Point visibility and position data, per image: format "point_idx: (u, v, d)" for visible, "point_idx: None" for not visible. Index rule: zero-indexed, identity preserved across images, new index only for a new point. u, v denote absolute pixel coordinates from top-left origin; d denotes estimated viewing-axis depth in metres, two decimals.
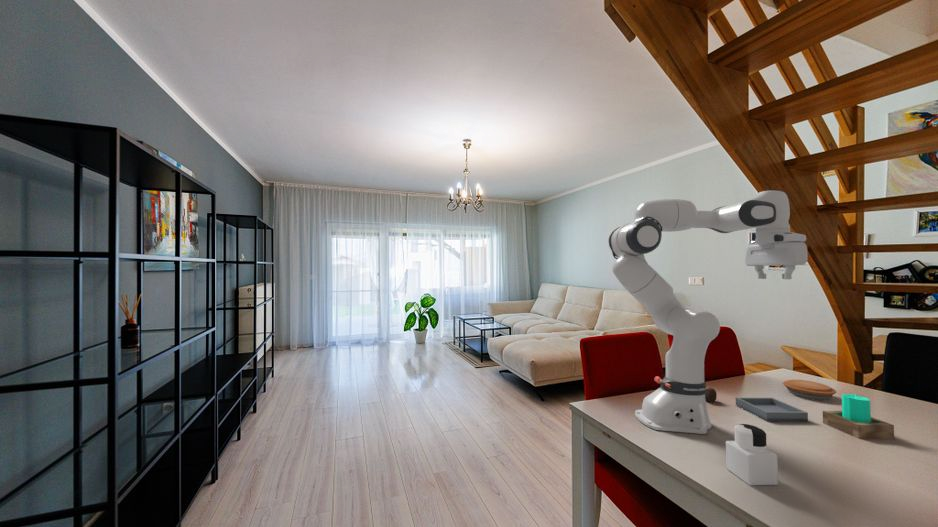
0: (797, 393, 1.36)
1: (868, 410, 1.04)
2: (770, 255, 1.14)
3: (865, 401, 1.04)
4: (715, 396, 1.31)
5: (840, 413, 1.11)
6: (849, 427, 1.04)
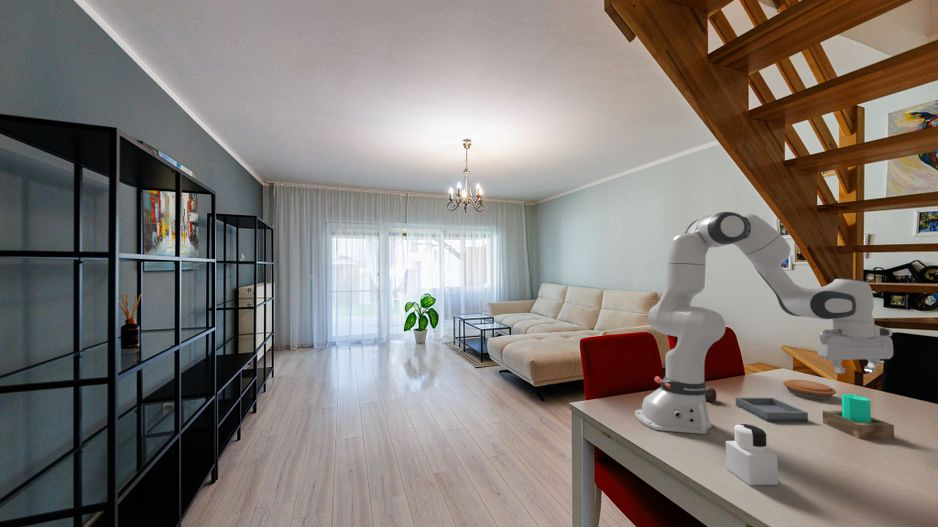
0: (797, 393, 1.36)
1: (868, 410, 1.04)
2: (864, 348, 1.06)
3: (865, 401, 1.04)
4: (715, 395, 1.32)
5: (840, 413, 1.11)
6: (849, 427, 1.04)
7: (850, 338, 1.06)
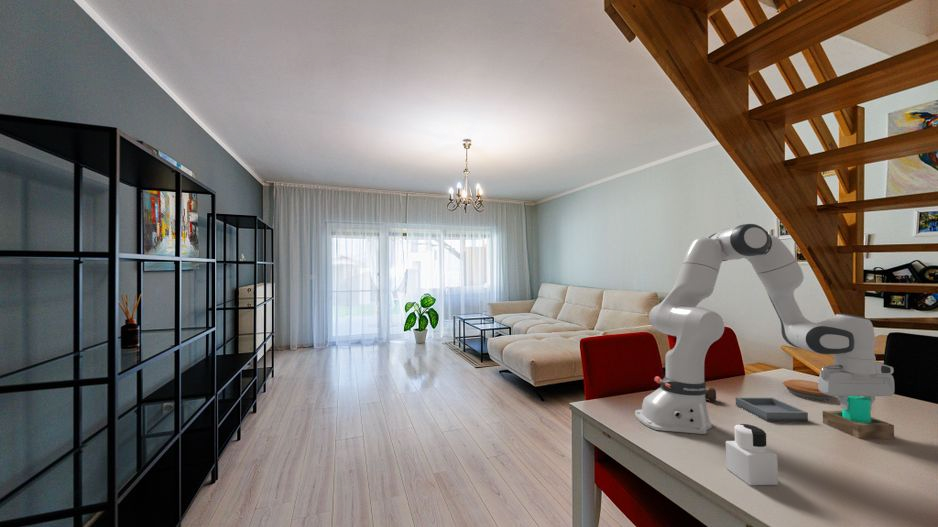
0: (797, 393, 1.36)
1: (868, 410, 1.04)
2: (865, 385, 1.06)
3: (865, 401, 1.04)
4: (715, 395, 1.32)
5: (840, 413, 1.11)
6: (849, 427, 1.04)
7: (851, 375, 1.06)
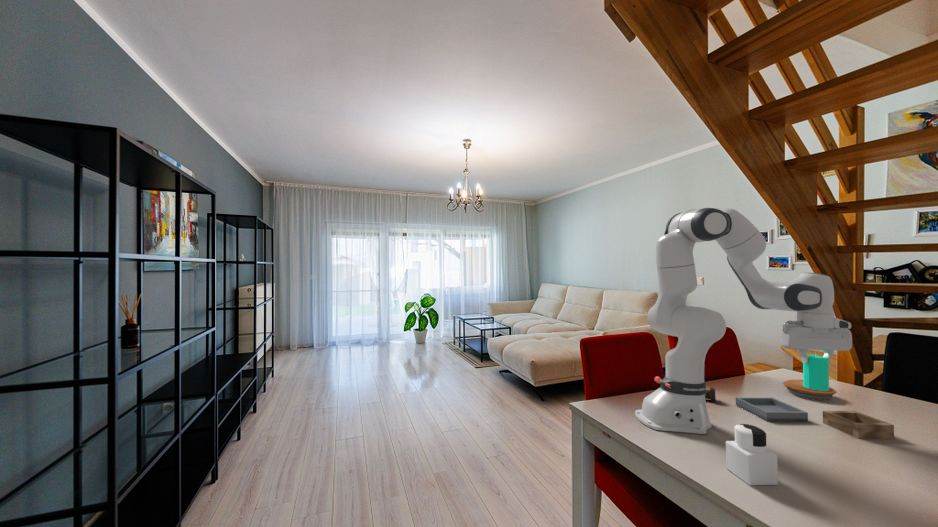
0: (797, 393, 1.36)
1: (826, 368, 1.10)
2: (824, 339, 1.11)
3: (823, 359, 1.10)
4: None
5: (840, 413, 1.11)
6: (849, 427, 1.04)
7: (811, 329, 1.12)
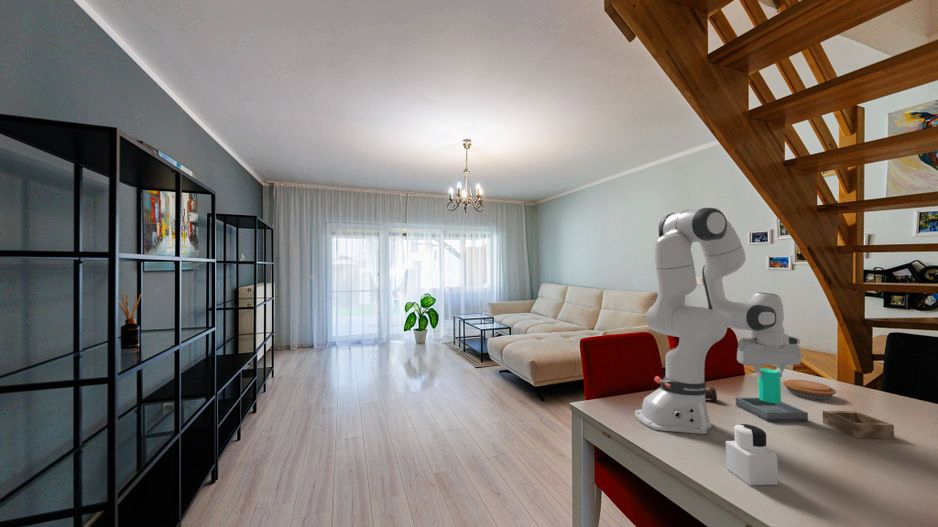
0: (797, 393, 1.36)
1: (777, 381, 1.18)
2: (776, 355, 1.19)
3: (775, 373, 1.18)
4: None
5: (840, 413, 1.11)
6: (849, 427, 1.04)
7: (764, 346, 1.19)
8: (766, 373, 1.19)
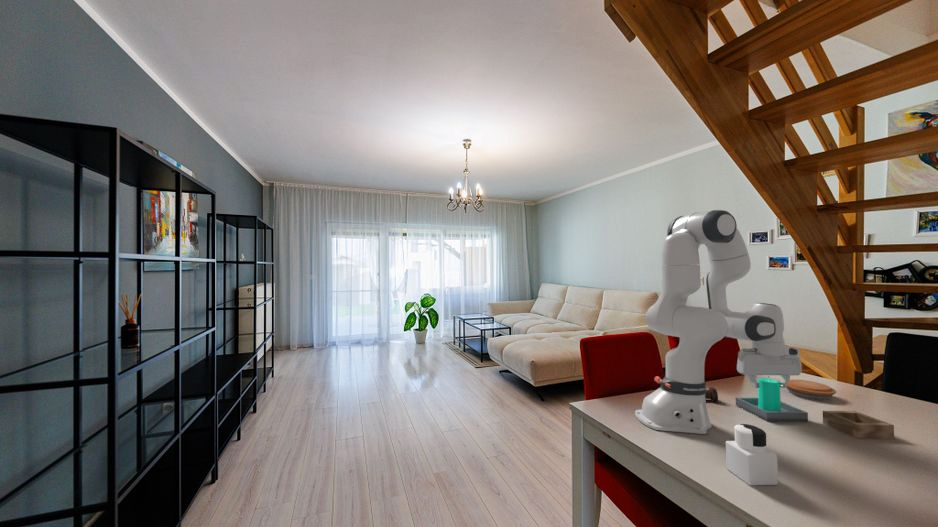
0: (797, 393, 1.36)
1: (777, 392, 1.18)
2: (776, 366, 1.19)
3: (774, 384, 1.18)
4: None
5: (840, 413, 1.11)
6: (849, 427, 1.04)
7: (764, 356, 1.19)
8: (766, 383, 1.19)
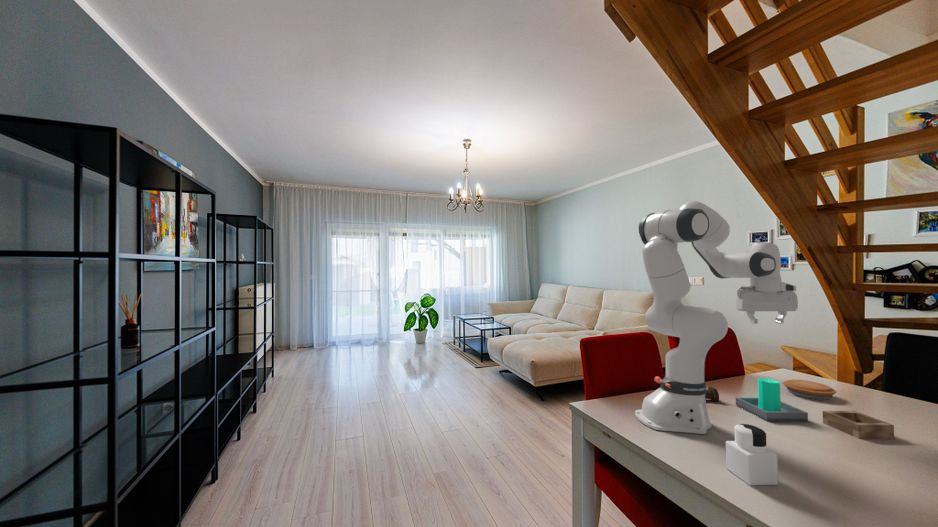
0: (797, 393, 1.36)
1: (777, 392, 1.18)
2: (773, 302, 1.25)
3: (774, 384, 1.18)
4: None
5: (840, 413, 1.11)
6: (849, 427, 1.04)
7: (761, 293, 1.25)
8: (766, 383, 1.19)
